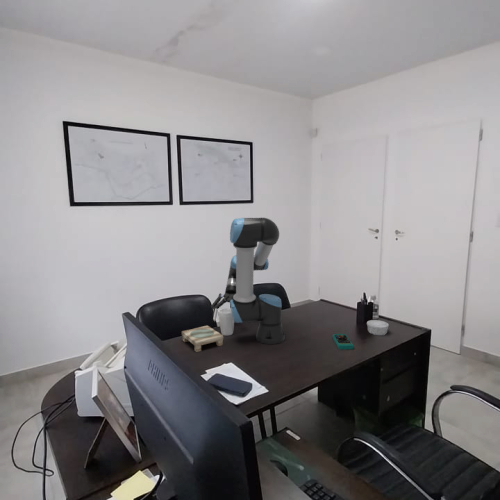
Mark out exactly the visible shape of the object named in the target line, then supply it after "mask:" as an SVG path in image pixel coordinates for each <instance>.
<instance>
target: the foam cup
mask: <svg viewBox="0 0 500 500" xmlns="http://www.w3.org/2000/svg"><path fill="white" fill-rule="evenodd" d="M217 310H218V312H217V317H218V321H219V327H220V332H221V333H220V334H221V335H223V336H232V335H233V334H234V327H235V322H234V320H233V317H232V312H231V307H223V308H219V309H217Z"/></svg>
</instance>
